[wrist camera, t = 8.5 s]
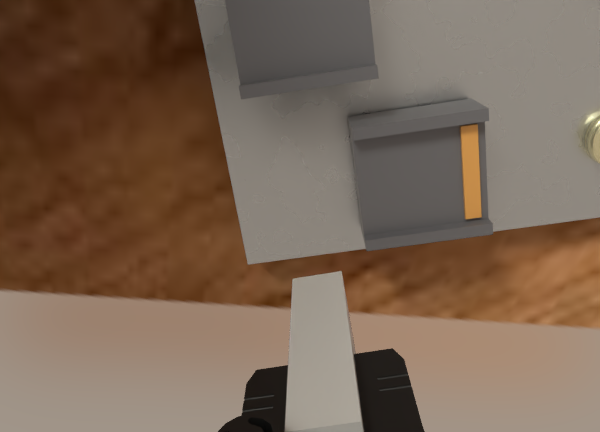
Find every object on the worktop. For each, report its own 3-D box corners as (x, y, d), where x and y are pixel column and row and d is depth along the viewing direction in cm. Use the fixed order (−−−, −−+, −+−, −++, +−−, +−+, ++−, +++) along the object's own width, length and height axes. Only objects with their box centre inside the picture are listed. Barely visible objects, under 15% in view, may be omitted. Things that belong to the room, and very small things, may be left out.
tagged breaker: (361, 230, 32) (366, 251, 29) (347, 117, 29) (351, 128, 27) (476, 214, 31) (493, 234, 28) (471, 98, 29) (488, 108, 26)
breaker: (247, 90, 29) (240, 99, 26) (222, -46, 27) (213, -51, 24) (371, 71, 29) (378, 78, 26) (357, -68, 26) (363, -77, 24)
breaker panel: (250, 250, 35) (246, 272, 32) (190, -53, 29) (178, -59, 26) (671, 193, 33) (705, 210, 30) (698, -139, 27) (743, -156, 24)
